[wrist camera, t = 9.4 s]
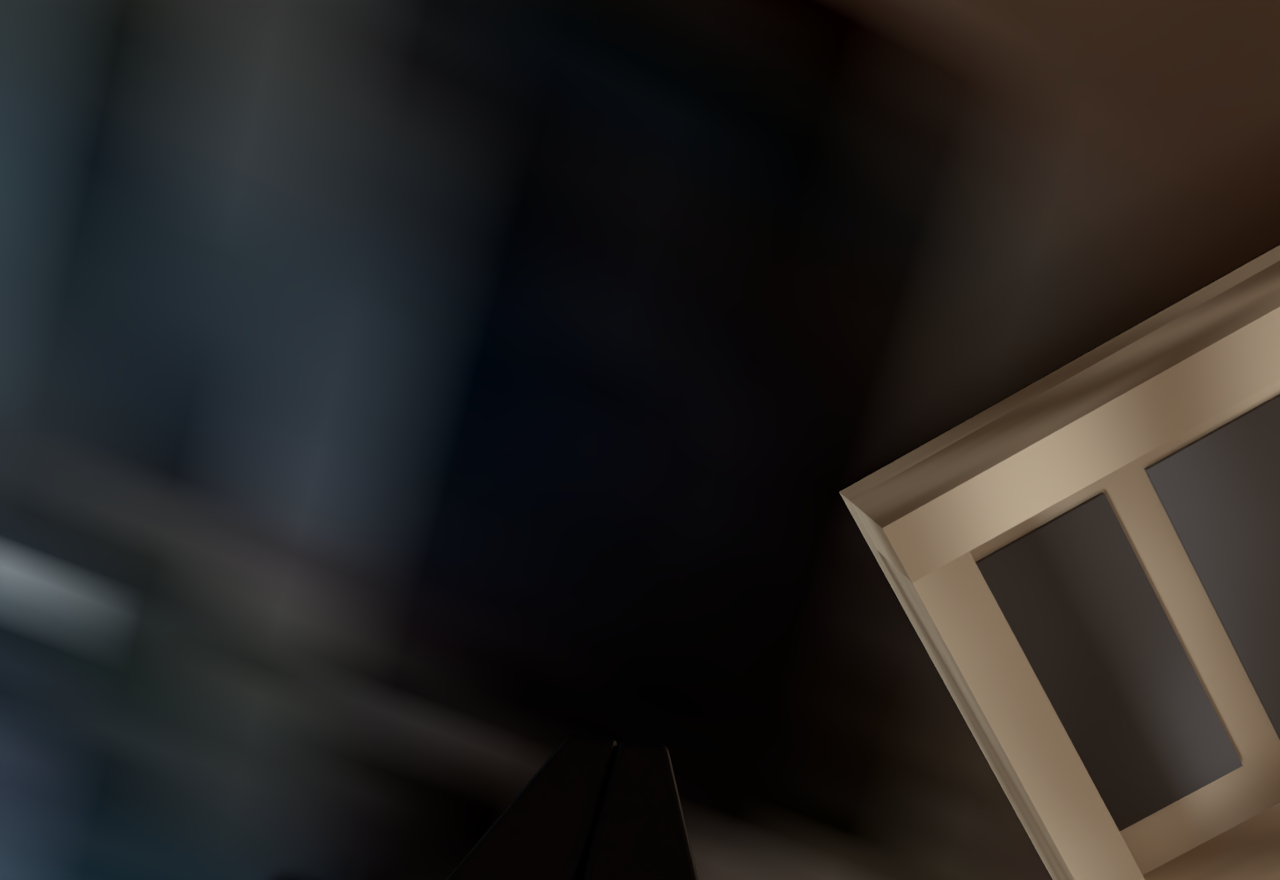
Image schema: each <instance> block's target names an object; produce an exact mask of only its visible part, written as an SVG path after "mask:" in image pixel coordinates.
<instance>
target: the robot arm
mask: <svg viewBox="0 0 1280 880" xmlns="http://www.w3.org/2000/svg"><path fill="white" fill-rule="evenodd" d="M446 880H698V876H697V872H696V868H695V863H694V859H693V855H692V850H691V846H690V842H689V837H688V833H687V829H686V824H685V820H684V816H683V811H682V807H681V803H680V798H679V794H678V790H677V785H676V781H675V777H674V772H673V768H672V764H671V759H670V755H669V751H668V749H667V747H666V746H665V745H663V744H661V743H655V742H647V741H638V740H629V739H628V740H623V741H622V742H621V743H620V744H619V745H618V744H617V741H616V740H614V739H613V738H610V737H604V736H595V735H587V734H573V735H571V736H569V737H568V738H566V739H565V741H564V742H563V743H562V744H561V745H560V746H559V747H558V748H557V750H556V751H555V752H554V753H553V754H552V756H551V757H550V758H549V759H548V760H547V761H546V763H545V764H544V765H543V766H542V767H541V768H540V770H539V771H538V772H537V773H536V774H535V775H534V777H533V778H532V779H531V780H530V781H529V783H528V784H527V785H526V786H525V787H524V788H523V790H522V791H521V792H520V793H519V794H518V795H517V797H516V798H515V799H514V800H513V801H512V802H511V804H510V805H509V806H508V807H507V808H506V809H505V811H504V812H503V813H502V814H501V815H500V817H499V818H498V819H497V820H496V821H495V822H494V824H493V825H492V826H491V827H490V828H489V829H488V831H487V832H486V833H485V834H484V835H483V836H482V838H481V839H480V840H479V841H478V842H477V844H476V845H475V846H474V847H473V848H472V849H471V851H470V852H469V853H468V854H467V855H466V856H465V858H464V859H463V860H462V861H461V862H460V863H459V865H458V866H457V867H456V868H455V869H454V870H453V872H452V873H451V874H450V875H449V876H448V878H447V879H446Z"/></svg>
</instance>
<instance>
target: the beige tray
mask: <svg viewBox="0 0 1280 880" xmlns="http://www.w3.org/2000/svg"><path fill="white" fill-rule="evenodd" d="M839 493H840V494H841V496H842V498H843V500H844V502H845V504H846V505H847V507H848V509H849V511H850V513H851V514H852V516H853V518H854V520H855V522H856V523H857V525H858V527H859V529H860V531H861V533H862V534H863V536H864V538H865V540H866V542H867V543H868V545H869V547H870V549H871V551H872V553H873V554H874V556H875V558H876V560H877V562H878V563H879V565H880V567H881V569H882V571H883V572H884V574H885V576H886V578H887V580H888V582H889V583H890V585H891V587H892V589H893V591H894V592H895V594H896V596H897V598H898V600H899V602H900V603H901V605H902V607H903V609H904V611H905V612H906V614H907V616H908V618H909V620H910V622H911V623H912V625H913V627H914V629H915V631H916V632H917V634H918V636H919V638H920V640H921V641H922V643H923V645H924V647H925V649H926V651H927V652H928V654H929V656H930V658H931V660H932V661H933V663H934V665H935V667H936V669H937V671H938V672H939V674H940V676H941V678H942V680H943V681H944V683H945V685H946V687H947V689H948V690H949V692H950V694H951V696H952V698H953V700H954V701H955V703H956V705H957V707H958V709H959V710H960V712H961V714H962V716H963V718H964V720H965V721H966V723H967V725H968V727H969V729H970V730H971V732H972V734H973V736H974V738H975V740H976V741H977V743H978V745H979V747H980V749H981V750H982V752H983V754H984V756H985V758H986V759H987V761H988V763H989V765H990V767H991V769H992V770H993V772H994V774H995V776H996V778H997V779H998V781H999V783H1000V785H1001V787H1002V789H1003V790H1004V792H1005V794H1006V796H1007V798H1008V799H1009V801H1010V803H1011V805H1012V807H1013V809H1014V810H1015V812H1016V814H1017V816H1018V818H1019V819H1020V821H1021V823H1022V825H1023V827H1024V828H1025V830H1026V832H1027V834H1028V836H1029V838H1030V839H1031V841H1032V843H1033V845H1034V847H1035V848H1036V850H1037V852H1038V854H1039V856H1040V858H1041V859H1042V861H1043V863H1044V865H1045V867H1046V868H1047V870H1048V872H1049V874H1050V876H1051V877H1052V879H1053V880H1280V245H1279V246H1277V247H1275V248H1274V249H1272V250H1270V251H1268V252H1266V253H1265V254H1263V255H1261V256H1259V257H1258V258H1256V259H1254V260H1252V261H1250V262H1249V263H1247V264H1245V265H1243V266H1241V267H1240V268H1238V269H1236V270H1234V271H1233V272H1231V273H1229V274H1227V275H1225V276H1224V277H1222V278H1220V279H1218V280H1216V281H1215V282H1213V283H1211V284H1209V285H1208V286H1206V287H1204V288H1202V289H1200V290H1199V291H1197V292H1195V293H1193V294H1191V295H1190V296H1188V297H1186V298H1184V299H1183V300H1181V301H1179V302H1177V303H1175V304H1174V305H1172V306H1170V307H1168V308H1167V309H1165V310H1163V311H1161V312H1159V313H1158V314H1156V315H1154V316H1152V317H1150V318H1149V319H1147V320H1145V321H1143V322H1142V323H1140V324H1138V325H1136V326H1134V327H1133V328H1131V329H1129V330H1127V331H1125V332H1124V333H1122V334H1120V335H1118V336H1117V337H1115V338H1113V339H1111V340H1109V341H1108V342H1106V343H1104V344H1102V345H1100V346H1099V347H1097V348H1095V349H1093V350H1092V351H1090V352H1088V353H1086V354H1084V355H1083V356H1081V357H1079V358H1077V359H1076V360H1074V361H1072V362H1070V363H1068V364H1067V365H1065V366H1063V367H1061V368H1059V369H1058V370H1056V371H1054V372H1052V373H1051V374H1049V375H1047V376H1045V377H1043V378H1042V379H1040V380H1038V381H1036V382H1034V383H1033V384H1031V385H1029V386H1027V387H1026V388H1024V389H1022V390H1020V391H1018V392H1017V393H1015V394H1013V395H1011V396H1010V397H1008V398H1006V399H1004V400H1002V401H1001V402H999V403H997V404H995V405H993V406H992V407H990V408H988V409H986V410H985V411H983V412H981V413H979V414H977V415H976V416H974V417H972V418H970V419H968V420H967V421H965V422H963V423H961V424H960V425H958V426H956V427H954V428H952V429H951V430H949V431H947V432H945V433H943V434H942V435H940V436H938V437H936V438H935V439H933V440H931V441H929V442H927V443H926V444H924V445H922V446H920V447H919V448H917V449H915V450H913V451H911V452H910V453H908V454H906V455H904V456H902V457H901V458H899V459H897V460H895V461H894V462H892V463H890V464H888V465H886V466H885V467H883V468H881V469H879V470H877V471H876V472H874V473H872V474H870V475H869V476H867V477H865V478H863V479H861V480H860V481H858V482H856V483H854V484H852V485H851V486H849V487H847V488H845V489H844V490H842V491H840V492H839Z"/></svg>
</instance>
